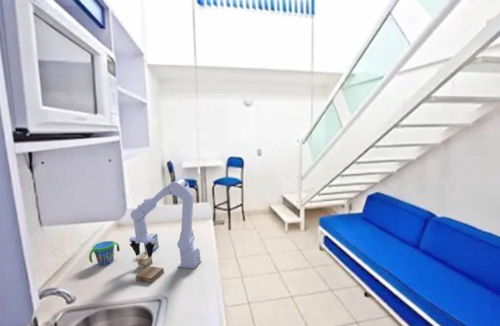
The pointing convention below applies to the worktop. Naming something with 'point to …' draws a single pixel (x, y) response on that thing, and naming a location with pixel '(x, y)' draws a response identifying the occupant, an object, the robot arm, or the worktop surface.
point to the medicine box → (154, 236)
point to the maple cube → (144, 261)
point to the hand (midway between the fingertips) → (144, 255)
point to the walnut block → (149, 274)
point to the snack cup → (104, 252)
